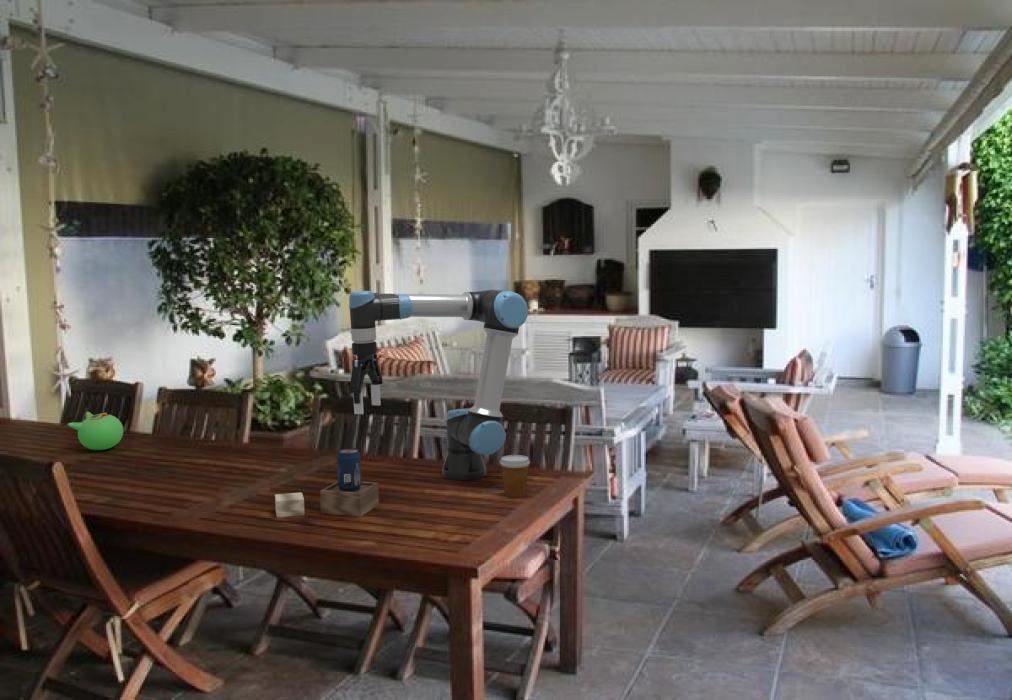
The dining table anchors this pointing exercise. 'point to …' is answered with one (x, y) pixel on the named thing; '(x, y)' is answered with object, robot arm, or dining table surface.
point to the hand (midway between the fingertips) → (367, 409)
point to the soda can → (349, 470)
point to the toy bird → (98, 431)
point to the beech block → (289, 504)
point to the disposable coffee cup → (515, 474)
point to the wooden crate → (349, 500)
